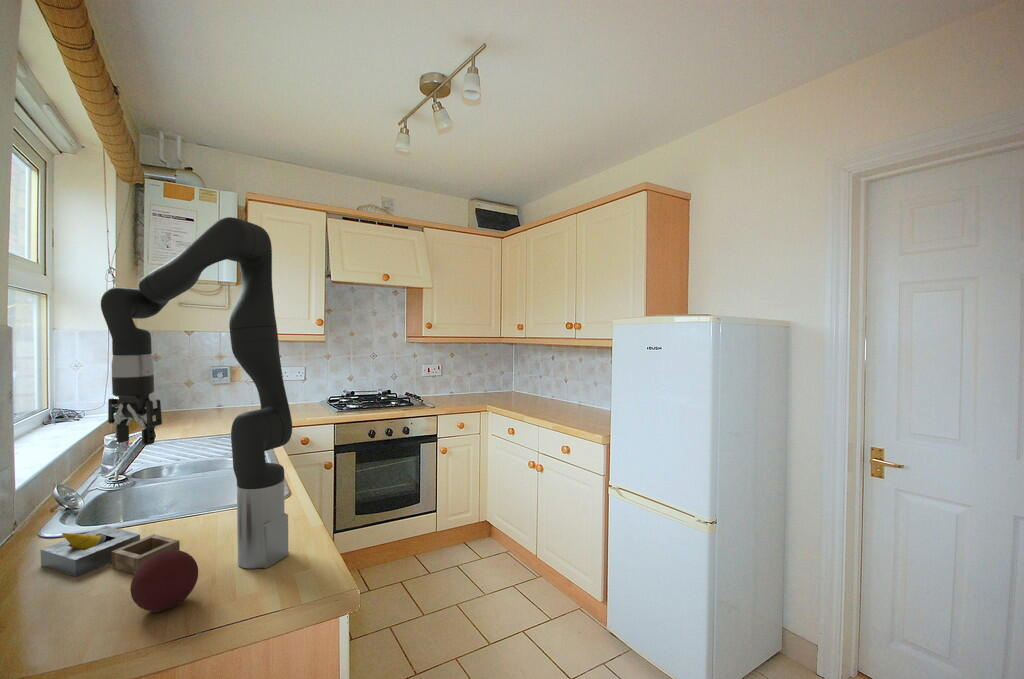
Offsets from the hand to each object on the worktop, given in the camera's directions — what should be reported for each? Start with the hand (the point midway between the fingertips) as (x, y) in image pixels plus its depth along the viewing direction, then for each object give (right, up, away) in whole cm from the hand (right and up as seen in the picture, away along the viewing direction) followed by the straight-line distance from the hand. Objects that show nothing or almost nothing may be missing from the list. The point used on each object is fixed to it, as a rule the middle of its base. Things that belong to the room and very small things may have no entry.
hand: (135, 443), depth 107 cm
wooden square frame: (+8, -24, -7) cm, 27 cm away
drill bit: (-5, -24, -7) cm, 26 cm away
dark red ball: (+24, -25, -22) cm, 42 cm away
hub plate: (-5, -24, -6) cm, 25 cm away
